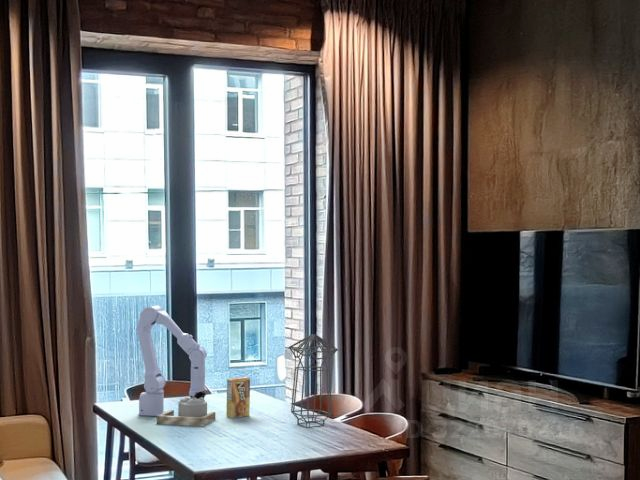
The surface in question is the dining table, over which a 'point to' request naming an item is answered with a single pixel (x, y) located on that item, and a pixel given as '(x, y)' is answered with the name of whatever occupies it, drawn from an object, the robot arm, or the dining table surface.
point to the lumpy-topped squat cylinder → (192, 407)
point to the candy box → (238, 397)
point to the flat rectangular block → (184, 419)
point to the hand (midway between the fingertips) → (197, 411)
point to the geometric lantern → (318, 342)
